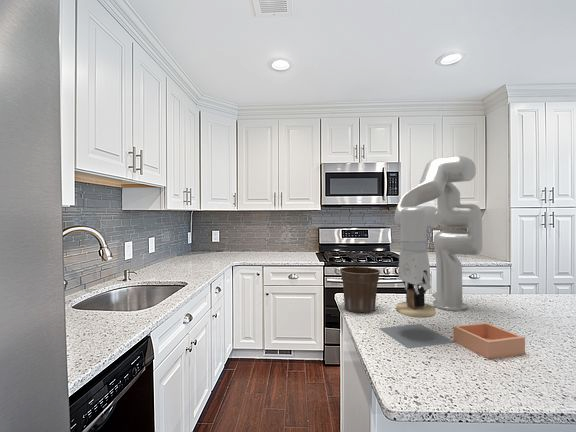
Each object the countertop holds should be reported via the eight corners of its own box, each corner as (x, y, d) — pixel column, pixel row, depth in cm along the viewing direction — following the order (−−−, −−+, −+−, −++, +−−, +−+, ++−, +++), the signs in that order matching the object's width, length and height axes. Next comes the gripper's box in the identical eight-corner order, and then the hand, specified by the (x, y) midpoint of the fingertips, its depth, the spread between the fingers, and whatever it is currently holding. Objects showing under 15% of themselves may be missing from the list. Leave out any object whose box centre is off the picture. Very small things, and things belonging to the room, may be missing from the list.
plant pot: (387, 308, 125) (387, 269, 125) (369, 318, 113) (369, 274, 113) (352, 301, 136) (352, 265, 136) (332, 309, 124) (332, 270, 124)
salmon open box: (453, 342, 90) (453, 326, 90) (486, 338, 93) (486, 322, 93) (488, 361, 79) (488, 342, 79) (525, 356, 81) (524, 337, 81)
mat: (378, 330, 101) (378, 328, 101) (420, 325, 105) (420, 323, 105) (407, 350, 86) (407, 348, 86) (455, 344, 89) (455, 342, 89)
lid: (388, 307, 100) (388, 287, 100) (419, 303, 103) (418, 284, 103) (410, 319, 89) (410, 297, 89) (444, 315, 92) (443, 293, 92)
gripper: (388, 244, 103) (390, 298, 103) (420, 250, 87) (422, 314, 87) (408, 243, 104) (409, 296, 105) (443, 249, 88) (444, 311, 89)
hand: (415, 303), depth 96 cm, fingers closed on lid, 3 cm apart
